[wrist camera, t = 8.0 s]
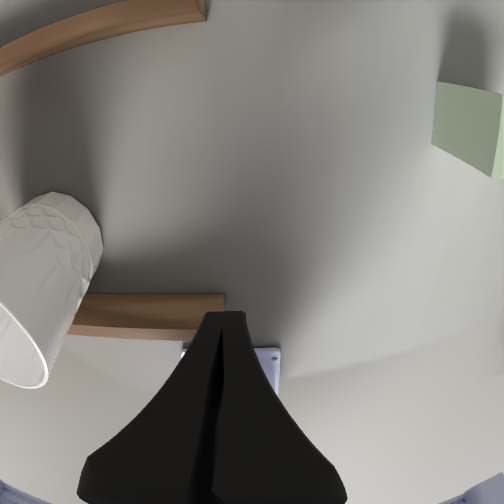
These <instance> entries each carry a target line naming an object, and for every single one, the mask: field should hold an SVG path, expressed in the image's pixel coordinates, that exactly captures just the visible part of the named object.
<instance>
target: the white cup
mask: <svg viewBox="0 0 504 504" xmlns="http://www.w3.org/2000/svg"><path fill="white" fill-rule="evenodd" d="M102 252H103V243H102V237H101V232H100V228H99V226H98V225H97V223H96V221H95V220H94V218H93V216H92V215H91V213H90V211H89V210H88V209H87V208H86V207H85V206H83V205H82V204H81V203H79V202H78V201H77V200H76V199H74V198H73V197H72V196H69V195H65V194H61V193H57V192H49V193H46V194H43V195H40V196H37V197H35V198H34V199H32V200H31V201H30V202H28V203H27V204H25V205H24V206H23V207H21V208H19V209H17V210H15V211H14V212H12V213H10V214H9V215H7V216H6V217H5V218H4V219H2V220H1V221H0V379H2V380H3V381H5V382H8V383H10V384H12V385H15V386H18V387H22V388H30V389H33V388H39V387H41V386H43V385H44V384H45V383H46V382H47V380H48V377H49V375H50V372H51V369H52V367H53V365H54V362H55V360H56V357H57V355H58V353H59V350H60V348H61V346H62V344H63V341H64V339H65V337H66V335H67V332H68V330H69V328H70V326H71V324H72V322H73V320H74V317H75V315H76V313H77V310H78V308H79V306H80V303H81V301H82V299H83V297H84V295H85V293H86V291H87V289H88V286H89V284H90V280H91V279H92V277H93V275H94V273H95V271H96V270H97V268H98V266H99V262H100V259H101V256H102Z"/></svg>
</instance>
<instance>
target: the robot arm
mask: <svg viewBox="0 0 504 504" xmlns="http://www.w3.org/2000/svg"><path fill="white" fill-rule="evenodd" d="M181 357H182V359H181V360H180V362H179V363H178V365H177V366H176V368H175V369H174V371H173V372H172V374H171V375H170V377H169V378H168V379H167V381H166V382H165V384H164V385H163V386H162V388H161V389H160V390H159V391H158V393H157V394H156V395H155V396H154V397H153V399H152V400H151V401H150V402H149V403H148V404H147V405H146V407H145V408H144V409H143V410H142V411H141V412H140V413H139V414H138V415H137V416H136V417H135V418H134V419H133V420H132V421H131V422H130V423H129V424H128V425H127V426H125V427H124V428H123V429H122V430H121V431H120V432H119V433H118V434H117V435H116V436H114V437H113V438H112V439H111V440H110V441H109V442H107V443H105V445H103V446H102V447H100V448H99V449H98V450H96V451H95V452H94V453H92V454H91V455H89V456H88V457H87V460H86V462H85V465H84V467H83V470H82V472H81V476H80V480H79V485H78V489H77V495H78V496H79V498H80V499H82V500H83V501H85V502H87V503H88V504H345V502H346V501H347V494H346V491H345V487H344V485H343V482H342V480H341V478H340V476H339V474H338V473H337V471H336V469H335V467H334V466H333V465H332V464H331V463H330V462H329V461H328V460H327V459H326V458H325V457H324V456H323V455H322V453H321V452H320V451H319V450H318V449H317V448H316V447H315V446H314V445H313V444H312V443H311V441H310V440H309V439H308V438H307V437H306V436H305V434H304V433H303V432H302V430H301V429H300V428H299V427H298V425H297V424H296V423H295V421H294V420H293V419H292V418H291V416H290V415H289V413H288V412H287V410H286V409H285V407H284V406H283V404H282V403H281V401H280V400H279V398H278V390H279V375H280V360H281V351H280V349H278V348H254V347H253V345H252V342H251V339H250V335H249V332H248V328H247V323H246V313H244V312H243V311H210V312H206V313H205V314H204V317H203V319H202V322H201V324H200V326H199V328H198V330H197V332H196V334H195V336H194V338H193V340H192V342H191V343H190V345H189V347H188V348H187V349H183V350H182V351H181ZM0 504H51V503H48V502H45V501H43V500H41V499H38V498H36V497H33V496H31V495H29V494H27V493H25V492H22V491H20V490H18V489H16V488H14V487H12V486H9V485H8V484H6V483H4V482H3V481H2V480H0ZM440 504H504V474H503V473H499V474H497V475H495V476H493V477H491V478H489V479H487V480H485V481H483V482H481V483H480V484H478V485H476V486H474V487H472V488H470V489H469V490H467V491H466V492H465V493H464V494H461V495H459V496H457V497H454V498H452V499H450V500H447V501H445V502H442V503H440Z"/></svg>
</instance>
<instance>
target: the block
mask: <svg viewBox="0 0 504 504" xmlns="http://www.w3.org/2000/svg"><path fill="white" fill-rule="evenodd" d="M431 144H432V145H434V146H436V147H438V148H440V149H442V150H444V151H446V152H448V153H450V154H451V155H453V156H455V157H457V158H459V159H460V160H462V161H464V162H466V163H468V164H469V165H471V166H473V167H474V168H476V169H478V170H479V171H481V172H483V173H484V174H486V175H488V176H489V177H491V178H497V179H504V95H502V94H498V93H494V92H490V91H486V90H481V89H477V88H472V87H467V86H462V85H456V84H451V83H445V82H438V81H437V85H436V102H435V114H434V125H433V134H432V143H431Z"/></svg>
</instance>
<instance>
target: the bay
mask: <svg viewBox="0 0 504 504" xmlns="http://www.w3.org/2000/svg"><path fill="white" fill-rule="evenodd" d="M203 21H206V4H205V2H204V1H203V0H125V1H121V2H117V3H113V4H110V5H106V6H102V7H99V8H96V9H92V10H89V11H86V12H83V13H80V14H77V15H74V16H71V17H68V18H66V19H63V20H60V21H58V22H55V23H53V24H50V25H48V26H45V27H43V28H40V29H38V30H36V31H33V32H31V33H29V34H27V35H25V36H22V37H20V38H18V39H16V40H14V41H12V42H10V43H8V44H6V45H4V46H2V47H0V76H2V75H5V74H7V73H9V72H11V71H13V70H16V69H18V68H20V67H22V66H25V65H27V64H30V63H32V62H35V61H37V60H40V59H42V58H45V57H48V56H50V55H53V54H56V53H59V52H62V51H65V50H68V49H71V48H74V47H77V46H80V45H84V44H87V43H91V42H94V41H98V40H102V39H105V38H109V37H113V36H118V35H122V34H126V33H131V32H136V31H141V30H146V29H151V28H157V27H163V26H170V25H177V24H184V23H193V22H203ZM225 305H226V304H225V294H224V293H203V294H114V293H85V295H84V297H83V299H82V301H81V303H80V306H79V308H78V310H77V313H76V315H75V317H74V320H73V322H72V324H71V326H70V328H69V330H68V332H67V334H72V335H84V336H96V337H110V338H126V339H147V340H180V341H192V340H193V338H194V336H195V334H196V332H197V330H198V328H199V326H200V324H201V322H202V319H203V317H204V314H205V313H206V312H210V311H225Z"/></svg>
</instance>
